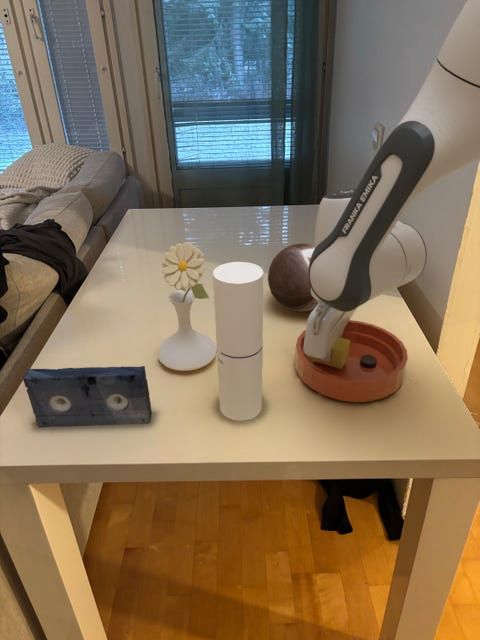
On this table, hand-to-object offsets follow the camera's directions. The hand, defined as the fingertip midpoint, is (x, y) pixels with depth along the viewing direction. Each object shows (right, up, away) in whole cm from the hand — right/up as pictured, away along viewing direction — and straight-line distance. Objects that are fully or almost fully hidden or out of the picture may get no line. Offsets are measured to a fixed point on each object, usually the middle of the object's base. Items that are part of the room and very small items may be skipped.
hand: (330, 351), depth 86 cm
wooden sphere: (-3, +9, +21) cm, 23 cm away
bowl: (+3, -3, +1) cm, 5 cm away
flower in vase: (-26, -2, +4) cm, 27 cm away
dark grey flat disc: (+7, -2, +1) cm, 8 cm away
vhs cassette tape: (-41, -11, -9) cm, 43 cm away
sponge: (0, -1, +1) cm, 2 cm away
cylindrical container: (-17, -9, -7) cm, 20 cm away
